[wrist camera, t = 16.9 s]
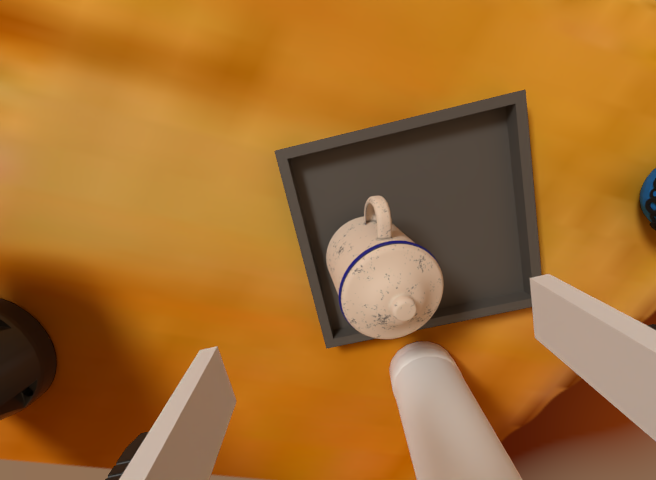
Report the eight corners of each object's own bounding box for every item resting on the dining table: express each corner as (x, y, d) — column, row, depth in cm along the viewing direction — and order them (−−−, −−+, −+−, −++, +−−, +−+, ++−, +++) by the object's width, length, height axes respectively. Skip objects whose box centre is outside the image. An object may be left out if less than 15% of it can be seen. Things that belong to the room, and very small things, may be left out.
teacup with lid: (405, 284, 39) (459, 350, 28) (327, 297, 37) (350, 371, 27) (405, 179, 34) (468, 209, 24) (316, 190, 33) (340, 226, 22)
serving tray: (326, 336, 41) (326, 348, 38) (278, 151, 35) (274, 150, 33) (530, 295, 39) (543, 304, 37) (511, 94, 34) (525, 89, 31)
